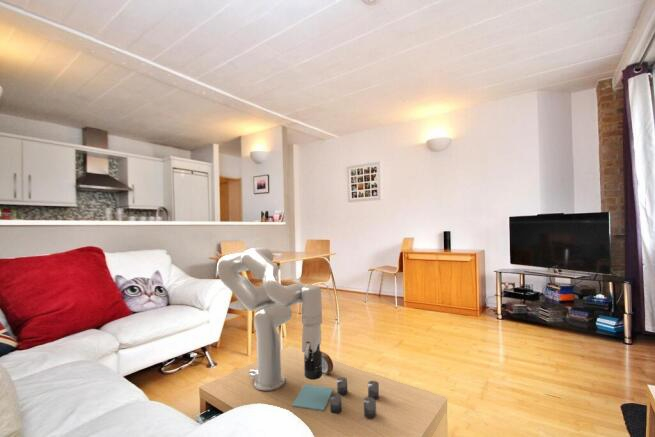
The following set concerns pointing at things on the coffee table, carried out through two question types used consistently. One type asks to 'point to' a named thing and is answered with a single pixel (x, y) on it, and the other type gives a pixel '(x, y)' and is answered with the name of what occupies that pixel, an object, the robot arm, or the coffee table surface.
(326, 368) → the tin
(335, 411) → the cylinder
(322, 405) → the teal board
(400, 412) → the coffee table surface
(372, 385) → the spacer back right
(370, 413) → the cylinder
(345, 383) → the cylinder
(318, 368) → the supplement bottle
